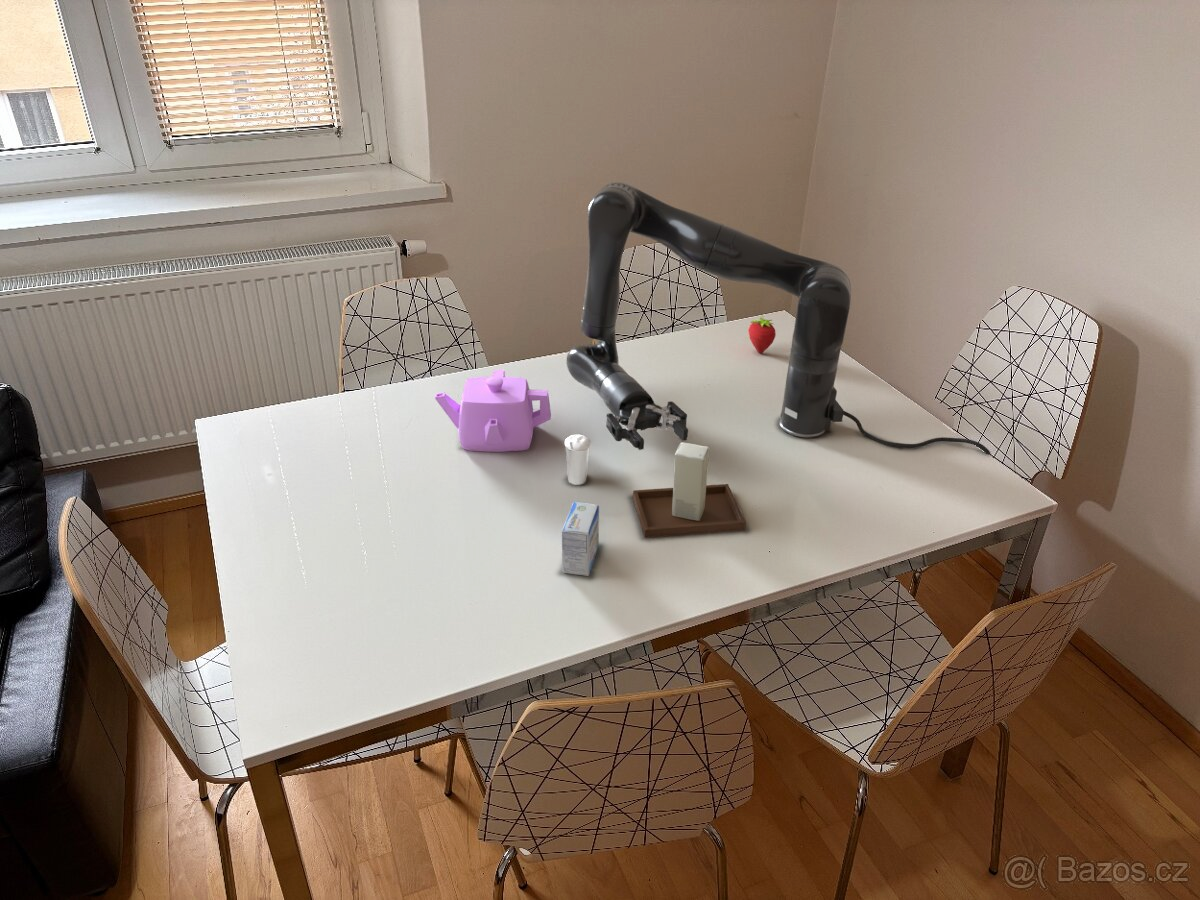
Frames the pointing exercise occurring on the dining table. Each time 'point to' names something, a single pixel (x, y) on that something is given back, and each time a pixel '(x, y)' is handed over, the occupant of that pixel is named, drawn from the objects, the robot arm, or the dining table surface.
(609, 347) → the robot arm
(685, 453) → the box
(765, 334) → the strawberry
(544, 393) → the teakettle
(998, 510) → the dining table surface
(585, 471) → the milkshake
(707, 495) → the tray
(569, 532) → the medicine box
